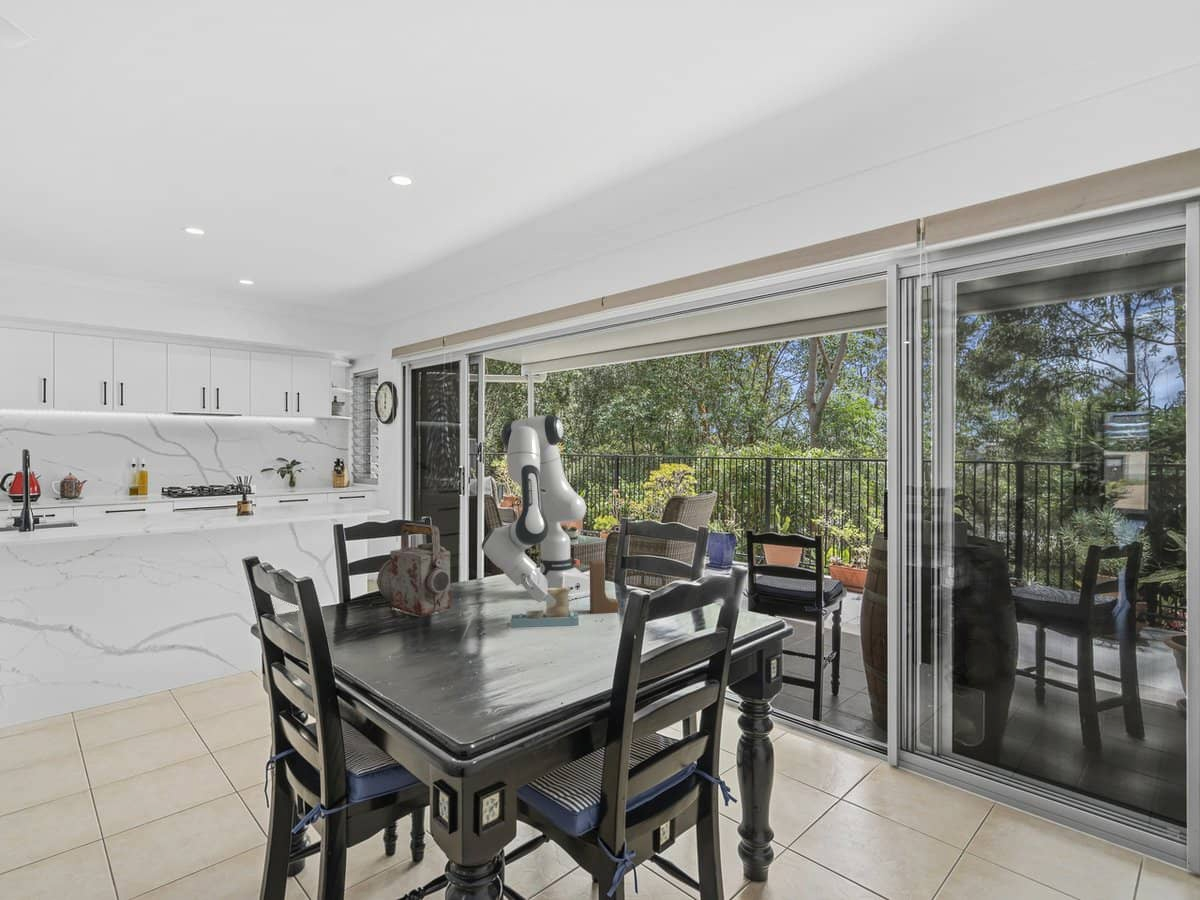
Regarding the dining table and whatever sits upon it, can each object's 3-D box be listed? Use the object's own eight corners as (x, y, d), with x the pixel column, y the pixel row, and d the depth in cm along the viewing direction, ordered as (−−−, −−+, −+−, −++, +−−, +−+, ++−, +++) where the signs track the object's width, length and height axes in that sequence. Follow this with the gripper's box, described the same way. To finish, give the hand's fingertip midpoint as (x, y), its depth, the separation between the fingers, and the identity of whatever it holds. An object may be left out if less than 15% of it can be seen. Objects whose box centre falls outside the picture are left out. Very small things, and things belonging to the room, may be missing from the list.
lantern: (413, 599, 237) (412, 519, 237) (459, 611, 220) (458, 524, 220) (374, 608, 225) (373, 523, 225) (420, 621, 208) (419, 529, 207)
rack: (508, 632, 195) (508, 619, 195) (510, 624, 204) (510, 611, 204) (580, 630, 196) (580, 617, 196) (579, 622, 205) (579, 609, 205)
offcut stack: (524, 625, 198) (523, 612, 198) (524, 623, 201) (524, 611, 201) (543, 625, 199) (543, 612, 199) (543, 623, 201) (543, 610, 201)
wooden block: (615, 611, 217) (615, 559, 217) (618, 615, 213) (618, 561, 213) (589, 613, 216) (589, 560, 216) (592, 617, 211) (591, 562, 211)
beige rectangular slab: (546, 625, 199) (546, 590, 199) (546, 622, 201) (546, 588, 201) (568, 624, 199) (568, 589, 199) (568, 622, 202) (568, 587, 202)
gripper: (529, 571, 189) (562, 603, 190) (531, 558, 209) (561, 587, 210) (514, 586, 189) (547, 618, 190) (517, 572, 209) (547, 601, 210)
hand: (554, 601), depth 200 cm, fingers closed on beige rectangular slab, 2 cm apart
